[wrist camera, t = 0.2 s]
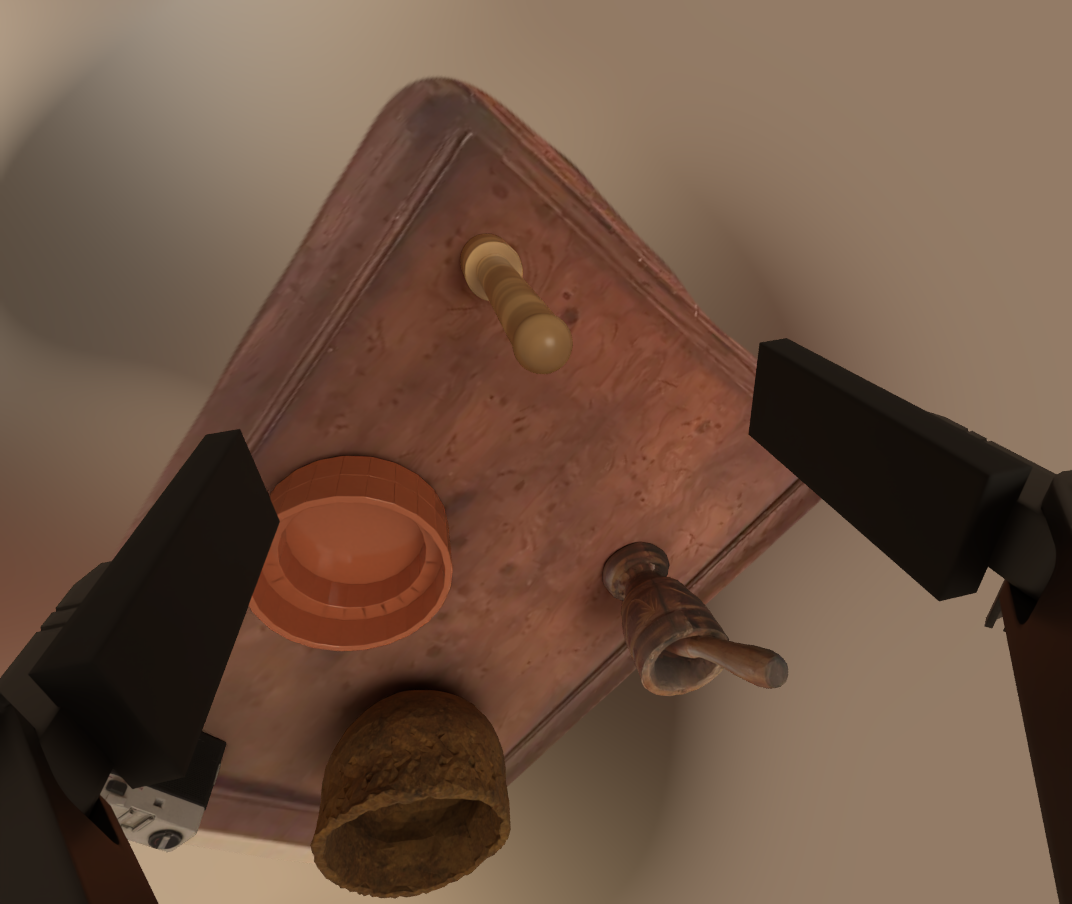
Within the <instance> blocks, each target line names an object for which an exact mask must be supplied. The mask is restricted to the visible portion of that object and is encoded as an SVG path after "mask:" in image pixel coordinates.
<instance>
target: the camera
mask: <svg viewBox="0 0 1072 904" xmlns="http://www.w3.org/2000/svg"><path fill="white" fill-rule="evenodd" d="M225 747H226V742H223V741H221V740H219V739H217V738H215V737H212V736H210V735H208V734H206V733H203V732H201V734H200V737H199V740H198V742H197V745H196V748H195V750H194V753H193V756H192V758H191V761H190V764H189V766H188V769H187V772H186V774H185V777H183V778H179V779H174V780H170V781H166V782H161V783H157V784H153V785H149V786H144V787H140V788H136V789H132V788H131V787H130V786H129V785H128V784H127V783H126V782H125V781H124V780H123V779H122V777H121V776H120V775H119V774H118V773H117V772H116V771H115V770H114V769H112V771H111V773H110V775H109V777H108V779H107V781H106V783H105V785H104V787H103V789H102V792H101V794H100V795H101V796H102V797H103V798H104V799H105V800H106V801H107V802H108V803H109V804H110V805H111V807H112V809H113V811H114V813H115V815H116V817H117V819H118V821H119V823H120V825H121V828H122V830H123V832H124V834H125V836H126V838H127V840H129V841H133V842H136V843H139V844H143V845H146V846H149V847H152V848H156V849H159V850H162V851H166V852H170V851H173V850H175V849H176V848H177V847H179V846H180V845H182V844H183V843H185V842H186V841H188V840H189V839H191V838H192V837H193V836H195V835H196V833H197V831H198V828H199V825H200V822H201V819H202V816H203V812H204V810H206V807H207V804H208V801H209V798H210V795H211V791H212V788H213V786H214V785H215V781H216V778H217V775H218V772H219V769H220V766H221V760H222V757H223V753H224V750H225Z"/></svg>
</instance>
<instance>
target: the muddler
mask: <svg viewBox="0 0 1072 904" xmlns="http://www.w3.org/2000/svg"><path fill="white" fill-rule="evenodd" d="M460 263H461V269H462V272H463V274H464V277H465V279H466V282H467V284H468V286H469V288H470V289H471V291H472V292H473V293H474V294H475V295H476V296H478V297H479V298H481V299H483V300H486V301H489V302H490V304H491V305H492V307H493V309H494V311H495V313H496V315H497V317H498V319H499V321H500V323H501V325H502V327H503V329H504V331H505V333H506V335H507V337H508V339H509V341H510V342H511V344H512V347H513V352H514V355H515V357H516V359H517V361H518V362H519V363H520V365H521V366H522V367H524V368H525V369H526V370H528V371H530V372H532V373H536V374H549V373H552V372H555V371H557V370H558V369H560V368H561V367H562V366H563V365H564V364H565V363H566V362H567V361H568V359H569V357H570V355H571V351H572V346H573V341H572V335H571V332H570V330H569V328H568V326H567V325H566V324H565V322H564V321H562V320H561V319H560V318H558V317H557V316H555V315H554V313H553V312H552V311H551V310H550V309H549V308H548V307H547V305H546V304H545V303H544V302H543V301H542V300H541V299H540V297H539V296H538V295H537V294H536V293H535V292H534V291H533V289H532V288H531V287H530V286H529V285H528V284H527V282H526V281H525V280H524V279H523V278H522V273H523V270H522V263H521V260H520V258H519V256H518V254H517V253H516V252H515V250H514V249H512V248H511V247H510V246H509V245H508V244H507V243H506V242H505V241H504V240H503V239H502V238H500V237H498V236H496V235H493V234H480V235H477V236H475V237H473V238H472V239H470V240H469V241H468V242H467V244H466V245H465V246H464V248H463V250H462V253H461V259H460Z"/></svg>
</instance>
